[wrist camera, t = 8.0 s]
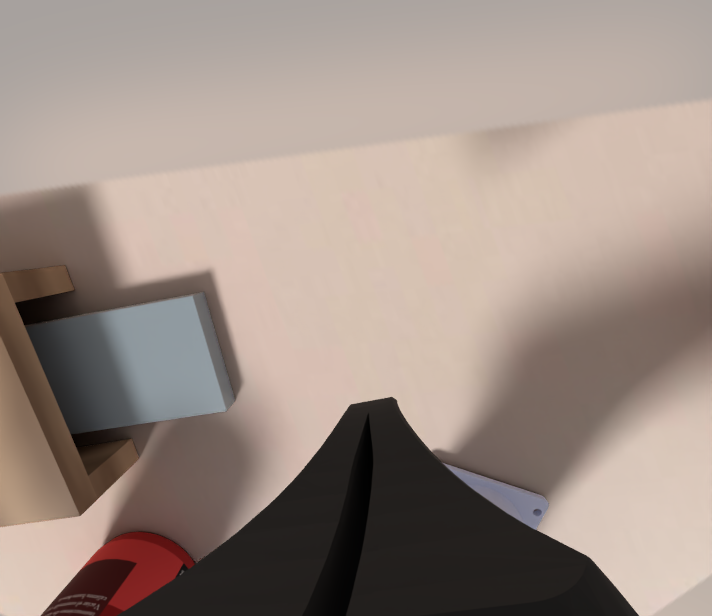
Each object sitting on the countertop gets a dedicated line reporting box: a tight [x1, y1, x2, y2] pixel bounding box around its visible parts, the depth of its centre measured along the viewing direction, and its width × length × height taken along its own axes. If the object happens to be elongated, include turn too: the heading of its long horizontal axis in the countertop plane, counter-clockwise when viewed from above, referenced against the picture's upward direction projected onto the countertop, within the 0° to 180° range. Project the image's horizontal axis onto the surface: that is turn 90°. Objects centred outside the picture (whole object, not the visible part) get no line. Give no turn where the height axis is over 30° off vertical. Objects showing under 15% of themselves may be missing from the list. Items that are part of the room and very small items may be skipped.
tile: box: [24, 292, 235, 434], centre depth 21 cm, size 13×7×2 cm, turn 101°
